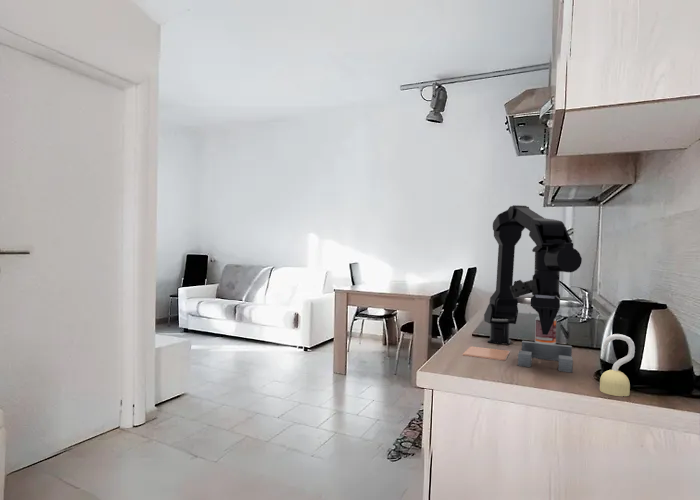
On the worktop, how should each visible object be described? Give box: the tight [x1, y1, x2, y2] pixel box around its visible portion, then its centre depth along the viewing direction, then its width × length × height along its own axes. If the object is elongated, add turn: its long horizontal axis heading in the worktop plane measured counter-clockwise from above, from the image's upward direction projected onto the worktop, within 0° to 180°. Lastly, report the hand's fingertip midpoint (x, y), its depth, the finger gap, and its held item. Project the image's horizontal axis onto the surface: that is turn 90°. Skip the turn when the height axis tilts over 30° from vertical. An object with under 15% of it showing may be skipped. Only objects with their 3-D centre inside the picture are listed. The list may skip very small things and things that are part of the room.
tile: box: [462, 345, 511, 362], centre depth 120 cm, size 11×11×1 cm
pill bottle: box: [534, 311, 557, 345], centre depth 107 cm, size 5×5×8 cm
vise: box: [517, 340, 574, 373], centre depth 113 cm, size 17×12×4 cm
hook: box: [599, 333, 636, 397], centre depth 88 cm, size 6×5×12 cm
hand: (545, 332), depth 107 cm, fingers closed on pill bottle, 5 cm apart
